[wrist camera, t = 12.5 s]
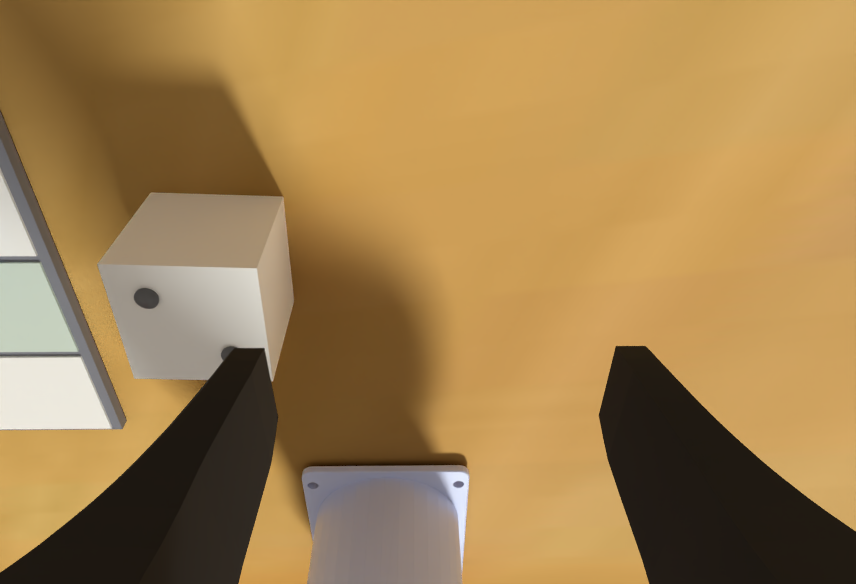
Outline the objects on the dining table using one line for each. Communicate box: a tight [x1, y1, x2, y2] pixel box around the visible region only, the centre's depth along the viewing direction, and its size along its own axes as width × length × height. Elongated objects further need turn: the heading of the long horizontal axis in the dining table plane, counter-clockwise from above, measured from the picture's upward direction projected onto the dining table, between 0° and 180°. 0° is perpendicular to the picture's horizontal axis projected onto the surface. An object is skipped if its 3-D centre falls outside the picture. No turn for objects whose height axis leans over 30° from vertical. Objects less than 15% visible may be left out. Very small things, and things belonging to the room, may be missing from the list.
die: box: [97, 192, 294, 381], centre depth 21 cm, size 4×5×5 cm
